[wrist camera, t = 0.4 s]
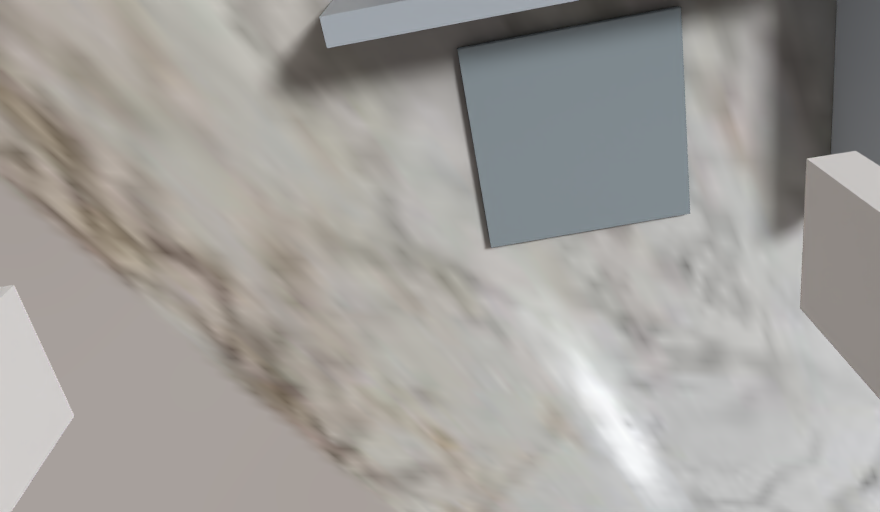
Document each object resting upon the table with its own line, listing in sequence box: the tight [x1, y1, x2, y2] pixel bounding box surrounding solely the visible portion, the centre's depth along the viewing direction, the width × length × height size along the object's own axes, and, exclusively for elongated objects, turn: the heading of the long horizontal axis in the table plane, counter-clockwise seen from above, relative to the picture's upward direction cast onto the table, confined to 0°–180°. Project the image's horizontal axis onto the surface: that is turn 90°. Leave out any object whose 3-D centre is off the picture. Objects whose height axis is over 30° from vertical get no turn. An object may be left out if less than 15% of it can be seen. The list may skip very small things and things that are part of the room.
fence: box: [319, 0, 880, 166], centre depth 34 cm, size 13×23×5 cm, turn 100°
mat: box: [457, 6, 690, 248], centre depth 37 cm, size 10×10×1 cm
